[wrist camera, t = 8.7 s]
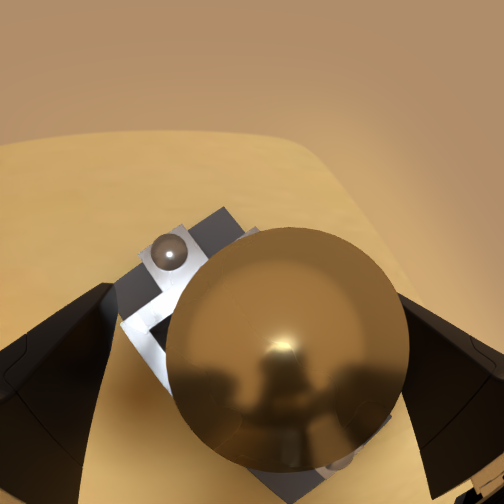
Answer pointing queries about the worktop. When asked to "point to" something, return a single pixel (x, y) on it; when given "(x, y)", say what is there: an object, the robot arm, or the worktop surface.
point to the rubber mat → (141, 293)
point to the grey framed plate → (161, 308)
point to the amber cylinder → (287, 350)
